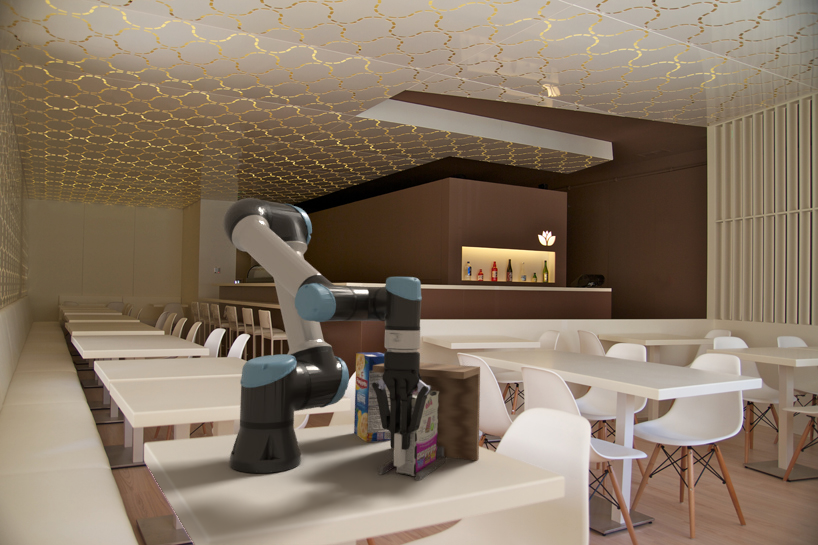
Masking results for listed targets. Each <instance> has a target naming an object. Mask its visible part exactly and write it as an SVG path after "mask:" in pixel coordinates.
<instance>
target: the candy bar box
mask: <svg viewBox="0 0 818 545" xmlns="http://www.w3.org/2000/svg"><path fill="white" fill-rule="evenodd" d="M418 393H419V392H418V390H417V391H414V392H413V397H412V407H411V419H412V415H413V410H414V406H415V402H416V398H417V395H418ZM438 405H439V391H433V390H431V391H430V392H429V394H428V395H427V397H426V401H425V405H424V409H423V414H422V418H421V422H420V426H419V429H418V430H416V431H414V432H411V433H410V447H409V449H407V450H406V464H404V465H402V466H401V467H398V466H395V470H396V471H395V472H396V473H397V474H401V475H406V476H412V477H416V473H417V472H419V471H420V470H422V469H423V468H425V467H426V466H427V465H429V464H430V463H432V462H433V461H435V460H436V459H437V434H438V433H437V432H438ZM401 409H402V401H400V428H401ZM400 431H401V429H400V430H399V432H400Z"/></svg>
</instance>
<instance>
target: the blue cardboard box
mask: <svg viewBox="0 0 818 545" xmlns="http://www.w3.org/2000/svg"><path fill="white" fill-rule="evenodd" d="M355 355H356V356H355V382H354V383H355V388H354V390H355V391H354V421H353V422H354V428H353V433H354V434H355V435H356V436H357V437H359V438H360V439H361V440H363V441H364V442H366V443H371V442H373V443H374V442H385V441H386V442H387V441H389V442H390V441H391V433H390V431H389V430H387V429H384V428H383V427H382V423H381V417H380V412H379V407H378V401H377V396H376V392H375V391H374V389H373V387H372V383H374V382H377V381H379V380H380V379H382V375H383V373H379V372H373V365H378V364H383V363H384V352H380V351H379V352H378V351H377V352H356V353H355ZM385 390H386V393H387V399H388V404H389V409H390V391H389V390H388V388H387V386H386V388H385Z"/></svg>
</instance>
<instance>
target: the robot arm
mask: <svg viewBox="0 0 818 545" xmlns="http://www.w3.org/2000/svg"><path fill="white" fill-rule="evenodd" d="M312 226H313V225H312V222H311V219H310V217H309V215H308V214H307V212H306V211H305V210H303V208H301V207H298V206H294V205H292V204H290V203H280V202H274V201H268V200H263V199H259V198H253V197H247V198H246V197H245V198H242V199H238V200H237V201H235V202H233V203H232V204H231V205H229V207H228V208H227V209H226V211H225V213H224V215H223V218H222V229H223V231H224V235H225V236H226V238H227V239H228V241H229V242H230V243H231V244H232V245H233V246H234V247H235V248H236V249H238V251H242V252H246V253H248V254H249V256H251V257H252V258H253V260H255V261H256V262H257V263H258V264H259V265H260V266H262V268H263V269H264V270H265V271H266V272H267V273H268V274H270V276H271V277H273V280H274V282H273V283H274V286H275V289H276V290H275V291H276V295H277V299H278V304H279V308H280V312H281V313H280V314H281V316H282V317H281V318H282V321H283V322H282V323H283V326H284V330H285V335H286V338H287V339H286V340H287V345H288V349H289V350H288V352H287V354H283V353H281V354H280V353H279V354H273V355H270V354H269V355H262V356H258V357H254V358H252V359H249V360H247V361H245V363H244V364H243V366H242V368H241V369H242V371H241V378H240V407H239V408H240V410H239V429H238V432H237V435H236V437H235V441H234V443H233V445H232V446H233V447H232V450H231V452H230V455H229V456H230V457H229V467H230V468H231V469H233V470H235V471H238V472H243V473H250V474H252V473H253V474H268V473H279V472H284V471H287V470H290V469H291V470H292V469H293V468H297V467H298V466H299V465H300V464H301V458H302V457H301V455H302V454H301V453H302V452H301V449H300V446H299V442H298V438H297V434H296V432H295V427H294V425H295V424H294V422H295V412H298V411H305V410H310V409H315V408H316V409H317V408H321V409H322V408H325V407H327V406H333V405H335V404H337V403H338V402H339V401H341V400H342V399H343V398H344V397H345V394H346V391H347V390H348V386H349V384H350V383H349V381H350V374H349V368H348V365H347V364H346V362H345V361H344V360H343V359H342V358H341V357H339V356H336V355H335V354H334V353H335V352H334V351H333V346H332V345H331V344H329V343H327V342H326V341H325V339H324V335H323V332H322V327H321V323H325V322H340V321H341V322H354V321H355V322H359V321H360V322H370V321H371V322H379V321H380V322H384V348H385V349H386V351H384V352H383V354H384V373H383V375H382V379H380V380H379V381H377V382H374V383H372V387H373V389H374V391H375V392H376V396H377V401H378V407H379V412H380V417H381V423H382V427H383V428H384V429H387V430H389V431H390V433H391V440H389V442H390V449H391V448H394V449H393V459H394V466H395V467H396V466H398V467H401V466H402V465H404V464H406V450H407V449H409V447H410V433H411V432H414V431H416V430H418V429H419V426H420V422H421V418H422V414H423V409H424V405H425V401H426V397H427V395H428V394H429V392H430V391H431V386H430V385H426V384H425V383H424V382H422V381H421V376H420V373H419V369H420V363H421V360H420V359H421V355H420V354H421V353H420V352H419V351H418V350H419V349H421V313H422V312H421V311H422V310H421V309H422V300H423V297H422V287H421V285H422V282H421V280H420V279H419V278H417V277H413V276H389V277H387V278H386V280H385V285H384V286H363V285H361V286H360V285H359V286H358V285H357V286H356V285H339V284H334V283H332V282H331V281H330V280H328V279H327V278H326V276H323V275H322V273H320V271H318V270H317V269H316V268H315V267H313V266H312V264H310V263H309V262H308V261H307V260H305V257H304V254H305V253H306V252H307V250H308V245H309V244H310V241H311V238H312V236H311V234H312V233H313V229H312V228H313V227H312ZM386 386H387V388H388V390H389V391H390V409H389V404H388V399H387V393H386V390H385V388H386ZM417 386H418V392H419V393H418V395H417V398H416V402H415V406H414V410H413V415H412V419H411V407H412V397H413V392H414V391H415V389H416V388H417ZM400 401H402V409H401V428H400ZM400 429H401V431H400V432H399V430H400Z"/></svg>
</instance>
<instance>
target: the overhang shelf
mask: <svg viewBox="0 0 818 545" xmlns="http://www.w3.org/2000/svg"><path fill="white" fill-rule="evenodd" d="M373 372H379V373H384V363H383V364H378V365H373ZM419 373H420V376H421V381H422V382H424V383H425V384H426V385H430V386H431V390H433V391H439V405H438V432H437V433H438V434H437V459H436V460H435V461H433V462H432V463H430V464H429V465H427V466H426V467H425V468H423V469H422V470H420V471H419V472H417V473H416V476H415V481H421V480H422V479H425V477H427V476H428V475H430V474H431V473H432V472H434V471H435V470H437V468H439V467H440V466H441V465H443V464H444V463H446V458H452V459H460V460H469V461H475V462H477V461H478V460H479V459H480V458H479V457H480V455H479V454H480V401H481V400H480V398H481V396H480V395H481V392H480V391H481V366H476V365H475V366H473V365H463V364H462V365H461V364H459V365H458V364H446V363H433V362H432V363H431V362H420V369H419ZM417 390H418V386H417V388H416V389H415V391H417ZM390 449H391V450H394V448H391V447H390ZM393 468H396V466H394V458H392V459H391V460H389V461H387V462H386V463H384V464H382V465H380V466H378V468H377V474H378V475H384V474H385V473H387V472H389V471H390V470H392V469H393Z"/></svg>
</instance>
